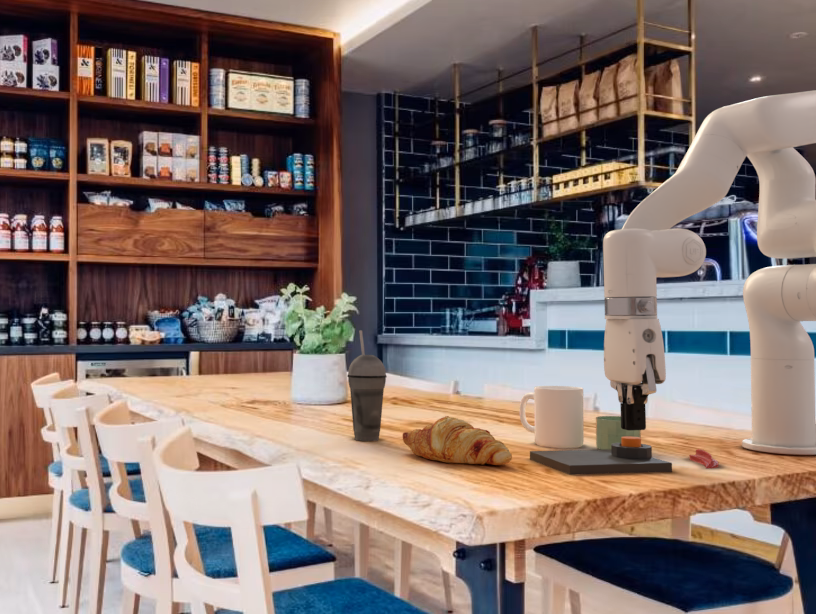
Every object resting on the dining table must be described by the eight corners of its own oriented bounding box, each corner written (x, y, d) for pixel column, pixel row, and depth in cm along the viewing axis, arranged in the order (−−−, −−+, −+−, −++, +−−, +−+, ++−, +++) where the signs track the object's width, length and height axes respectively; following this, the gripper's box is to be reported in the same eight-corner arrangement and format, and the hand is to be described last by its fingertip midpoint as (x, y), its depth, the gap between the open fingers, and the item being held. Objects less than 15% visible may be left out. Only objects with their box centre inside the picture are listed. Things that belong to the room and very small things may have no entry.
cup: (568, 450, 140) (568, 390, 141) (507, 442, 149) (507, 386, 150) (592, 445, 146) (592, 387, 147) (532, 438, 155) (531, 383, 155)
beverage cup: (385, 442, 148) (385, 330, 149) (344, 441, 149) (345, 330, 150) (387, 437, 155) (388, 330, 156) (349, 436, 156) (349, 330, 157)
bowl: (625, 447, 144) (625, 415, 144) (649, 453, 137) (648, 420, 138) (588, 448, 143) (588, 416, 143) (610, 454, 136) (609, 421, 136)
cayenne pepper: (691, 456, 135) (691, 444, 135) (723, 458, 133) (722, 446, 133) (682, 467, 125) (682, 454, 125) (716, 470, 123) (716, 457, 123)
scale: (625, 457, 133) (624, 438, 133) (674, 472, 120) (674, 451, 121) (529, 460, 131) (529, 440, 131) (569, 475, 118) (569, 454, 118)
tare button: (634, 446, 128) (634, 436, 128) (644, 449, 125) (644, 438, 125) (617, 446, 128) (617, 436, 128) (627, 449, 125) (627, 439, 125)
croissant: (522, 489, 124) (536, 440, 127) (487, 464, 118) (503, 413, 121) (413, 467, 140) (428, 423, 142) (377, 444, 134) (394, 399, 137)
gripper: (682, 309, 121) (686, 435, 120) (626, 309, 135) (628, 422, 135) (635, 309, 119) (638, 437, 119) (583, 310, 134) (586, 424, 134)
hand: (633, 429), depth 127 cm, fingers closed
